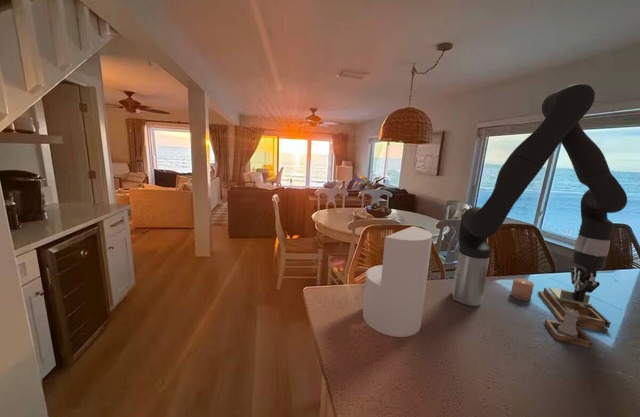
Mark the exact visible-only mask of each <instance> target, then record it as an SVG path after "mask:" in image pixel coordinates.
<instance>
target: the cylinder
mask: <svg viewBox="0 0 640 417" xmlns="http://www.w3.org/2000/svg"><path fill="white" fill-rule="evenodd" d="M432 242H433V234H432V233H431V231H429V230H427V229H424V228H421V227H418V226H414V225H413V226H410V227H407V228H405V229H402V230H400V231H397V232H393V233H392V234H389V235H387V236H386V235H385V236H384V245H383V256H382V264H379V265H375V266H372V267H370V268H368V269H367V271H366V272H365V286H364V294H363V295H364V296H363V297H364V298H363V311H362V316H363V319H364V322H365V323H366V324H367V325H368V326H369V327H370V328H371V329H373V330H375V332H376V331H377V332H378V333H381V334H383V335H387V336H390V337H395V338H396V337H398V338H404V337H405V338H406V337H411V336H414V335H415V334H417V333H418V332H420V330H421V327H422V319H423V312H424V304H425V297H426V296H425V295H426V289H427V288H426V287H427V280H428V273H429V265H430V257H431V250H432Z"/></svg>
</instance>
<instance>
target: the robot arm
mask: <svg viewBox="0 0 640 417" xmlns="http://www.w3.org/2000/svg"><path fill="white" fill-rule="evenodd" d="M595 96H596V93H595V90H594V88H593V87H592V86H591V85H590V84H586V83H576V84H571V85H568V86H566V87H563V88H561V89H559V90H557V91H554V92H552V93H550V94H549V95H547V97H545V99H544V100H543V101H542V104H541V113H542V115H543V117H544V120H543V121H542V123H541V124H540V125H539V126H538V127H537V128H536V129H535V130H534V131H533V132H532V133H531V134H530V135H528V136H527V137H526V138H525V139H524V140H523V141H522V142H520V143H519V145H518V146H517V147H515V148H514V150H513V151H512V152H511V154H509V156H508V158H507V159H506V160H505V162H504V163H503V164H502V166H500V167H501V168H500V169H499V171H498V174H497V177H496V181H495V185H494V188H493V190H492V193H491V195H490V196H489V197H488V199H487V200H486V202H485V203H484V204H483V205H482V206H481V207H479V206H472V207H469V208H468V209H466V210H465V211H464V212H463V214H462V215H461V219H460V224H459V234H458V245H459V248H458V256H457V262H456V268H455V271H454V274H453V275H454V276H453V282H452V283H453V284H452V289H451V295H452V296H451V297H452V300H453V301H455V302H458V303H460V304H462V305H466V306H469V307H479V306H481V304H482V302H483V297H484V291H485V286H486V280H487V273H488V268H489V264H490V263H489V261H490V257H491V247H490V245H489V243H488V242H489V241H488V239H489V238H491V237H492V236H495V235H496V233H497V232H498V231H499V230H500V229H501V227H502V226H503V224H504V222H505V220H506V219H507V217H508V215H509V213H510V212H511V210H512V208H513V207H514V206H515V204H516V202H517V201H518V200H519V199H520V198H521V196H522V194H524V192H525V191H526V190H527V188H528V187H529V185H530V184H531V183H532V182H533V181H534V179H535V178H536V176H537V175H538V174H539V173H540V171H541V170H542V169H543V167H544V166H545V164H546V163H547V161H548V160H549V159H550V157H551V156H552V155H553V154H554V152H555V151H556V149H557V148H558V146H559V145H560V144H561V145H562V146H563V148H564V150H565V151H566V154H567V156H568V158H569V159H570V162H571V165H572V167H573V170H574V173H575V175H576V177H577V180H578V181H579V183H580V184H582V185H584V186H586V187H587V188H588V190H585V192H584V194H583V195H582V197H581V200H580V218H581V223H580V226H579V231H578V234H577V238H576V240H575V243H574V247H573V250H572V255H571V262H572V263H573V264H575V267H573V266H570V268H569V269H570V279H571V284H572V285H573V288H574V290H573V291H574V294H573V299H574V300H575V301H578V302H583V301H584V297H585V294H591V293H592V292H593V291H595V290H596V289H597V288H598V287H600V285H601V284H600V281H597V280H596V278H597V276H598V275H597V272H598V271H597V270H603V269H604V268H605V265H606V263H607V258H608V255H609V250H610V247H611V246H610V245H611V238H612V235H613V231H614V228H615V227H614V226H615V225H614V222H612V221H611V220H610V219H609V218H608V214H614V213H619V212H620V211H622V210H624V209H625V208H626V206H627V204H628V196H627V194H626V193H627V192H626V191H625V189H624V188H623V187H622V185H621V184H620V183H619V181H618V180H617V179H616V178H615V176H614V175H613V174H612V173H611V169H610V168H609V165H608V162H607V160H606V156H605V155H604V153H603V151H602V150H601V148H600V147H599V146H598V145H597V144H596V143H595V142H594V141H593V140H592V139H591V138H590V137H589V136H588V135H587V133H586V132H585V130H584V129H583V128H582V127H581V124H580V120H581V119H583V117H584V116H585V115H586V114H587V113H588V112H589V111H590V109H591V108H592V107H593V105H594V102H595V99H596V98H595Z"/></svg>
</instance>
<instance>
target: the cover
mask: <svg viewBox="0 0 640 417" xmlns="http://www.w3.org/2000/svg"><path fill="white" fill-rule="evenodd" d="M548 291H549V292H550V293H553V294H554V295H555V297H556V298H557V299H558V300H561V301H567V302H572V303H577V304H582V305H583V306H584V305H587V306H591V305H592V303H590V297H591V295H590V293H585V297H584V301H583V302H578V301H575V300H574V299H573V294H574V290H568V289H560V288H555V287H548Z"/></svg>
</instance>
